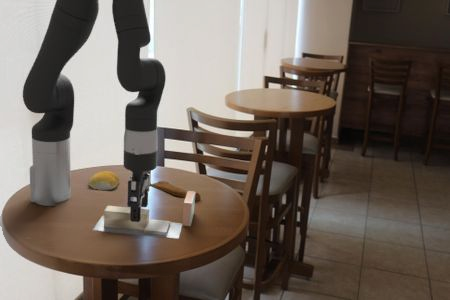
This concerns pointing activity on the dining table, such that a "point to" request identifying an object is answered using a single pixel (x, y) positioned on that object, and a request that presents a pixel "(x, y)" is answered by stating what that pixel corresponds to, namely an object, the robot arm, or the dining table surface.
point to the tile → (188, 208)
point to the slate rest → (172, 231)
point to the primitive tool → (173, 190)
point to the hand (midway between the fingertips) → (139, 213)
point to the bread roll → (104, 181)
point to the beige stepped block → (121, 219)
